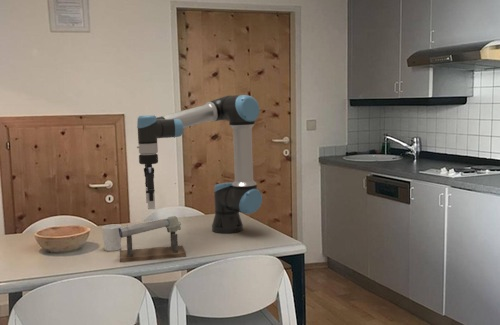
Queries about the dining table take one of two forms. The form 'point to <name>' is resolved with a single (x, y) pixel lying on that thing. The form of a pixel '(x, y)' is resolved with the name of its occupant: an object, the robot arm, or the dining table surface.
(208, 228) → the dining table surface
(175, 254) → the hook board
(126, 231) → the grey handled tool
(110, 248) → the white cup
